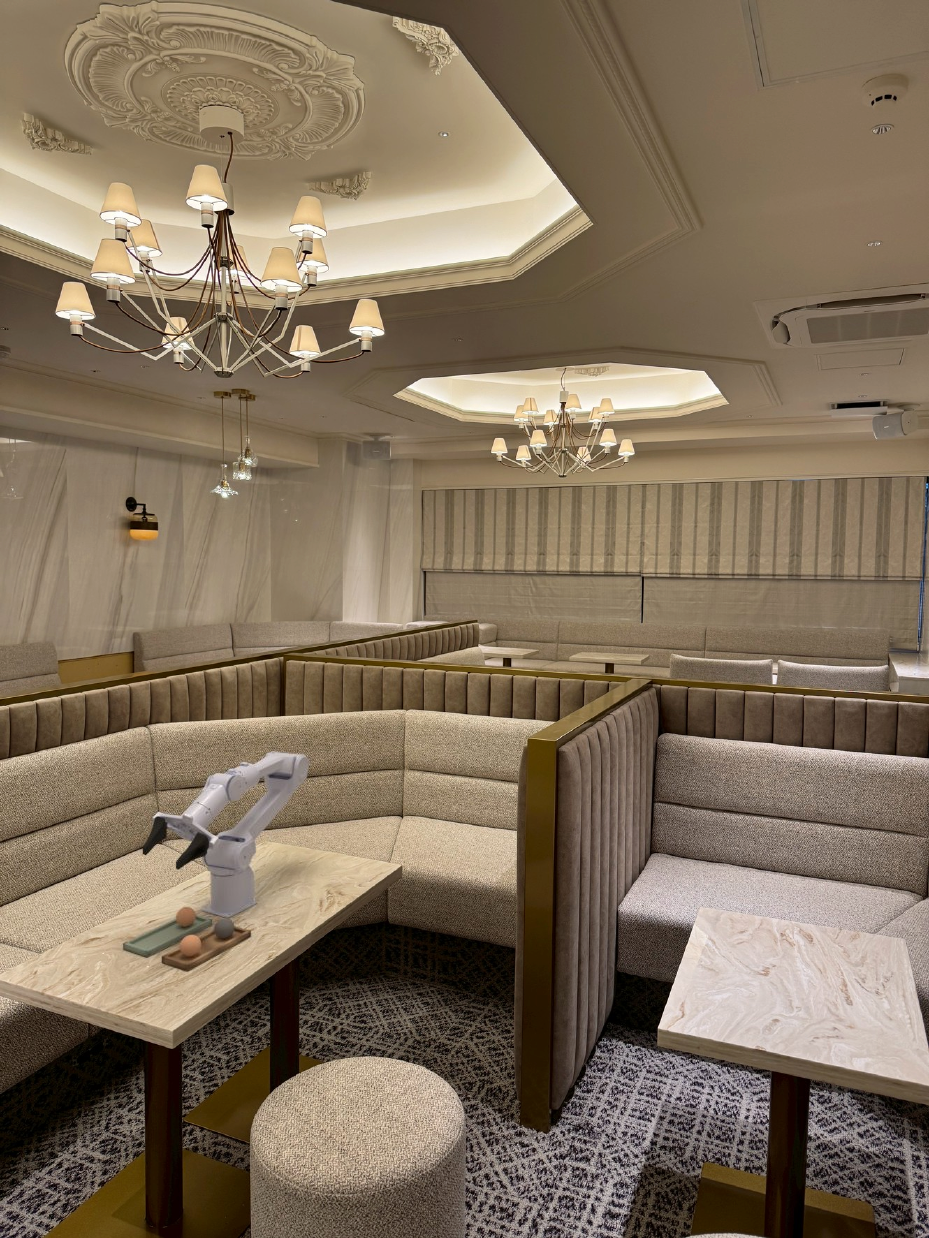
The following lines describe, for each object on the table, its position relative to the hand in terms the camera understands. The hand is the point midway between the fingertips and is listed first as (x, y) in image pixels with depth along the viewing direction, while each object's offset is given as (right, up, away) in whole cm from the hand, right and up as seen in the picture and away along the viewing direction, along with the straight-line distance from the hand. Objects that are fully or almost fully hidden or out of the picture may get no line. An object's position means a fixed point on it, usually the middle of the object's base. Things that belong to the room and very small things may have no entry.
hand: (160, 858), depth 161 cm
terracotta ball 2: (+7, -16, -3) cm, 18 cm away
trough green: (-1, -18, +7) cm, 19 cm away
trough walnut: (+9, -19, +2) cm, 21 cm away
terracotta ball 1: (+1, -15, +11) cm, 19 cm away
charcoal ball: (+11, -16, +5) cm, 20 cm away
